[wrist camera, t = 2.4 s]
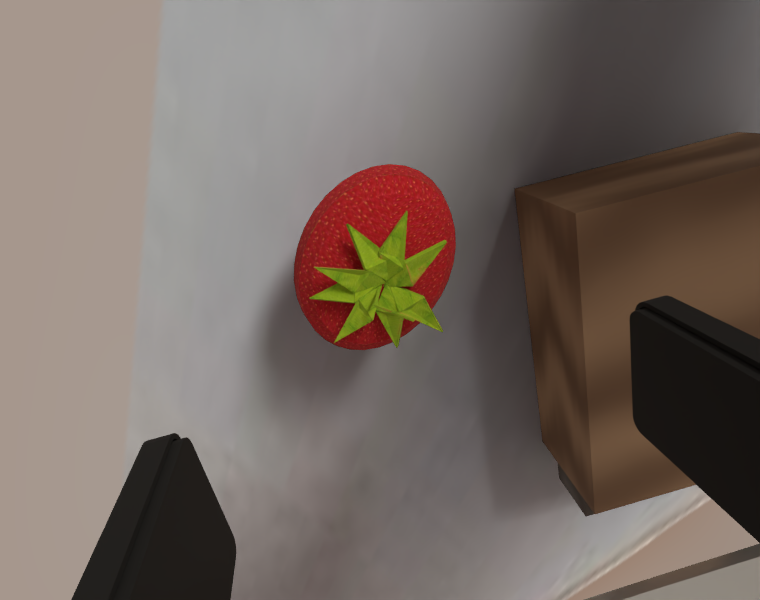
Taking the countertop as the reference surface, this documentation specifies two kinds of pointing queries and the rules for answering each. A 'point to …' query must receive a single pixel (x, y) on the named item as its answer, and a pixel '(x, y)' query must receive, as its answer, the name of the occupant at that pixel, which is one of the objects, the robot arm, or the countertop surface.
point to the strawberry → (375, 257)
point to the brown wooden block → (630, 295)
